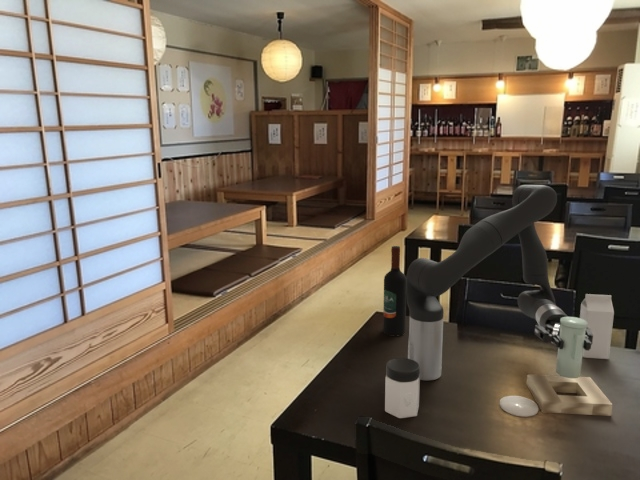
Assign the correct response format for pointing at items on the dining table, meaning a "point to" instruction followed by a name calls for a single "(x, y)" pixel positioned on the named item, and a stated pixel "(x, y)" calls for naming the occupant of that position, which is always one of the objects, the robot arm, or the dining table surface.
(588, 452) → the dining table surface
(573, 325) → the mint green tumbler
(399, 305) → the wine bottle
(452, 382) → the dining table surface
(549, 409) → the wooden square frame
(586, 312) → the milk carton
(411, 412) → the jar
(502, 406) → the saucer
